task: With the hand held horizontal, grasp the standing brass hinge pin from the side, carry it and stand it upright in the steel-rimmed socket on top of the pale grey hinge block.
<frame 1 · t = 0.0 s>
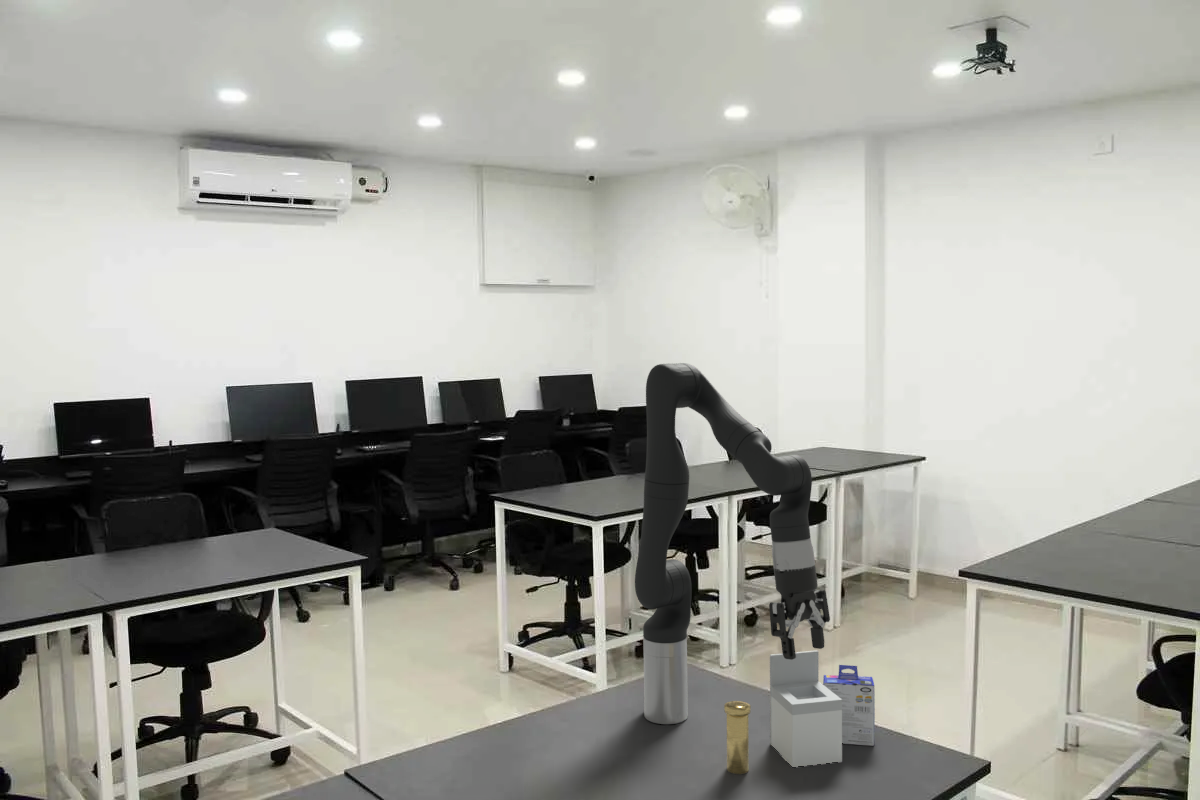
hand: (804, 653, 169), 22 cm above the table, tool pointing down, fingers open, 8 cm apart
hinge pin: (737, 769, 173), on the table
hinge block: (805, 753, 179), on the table
ink cartridge box: (848, 740, 185), on the table
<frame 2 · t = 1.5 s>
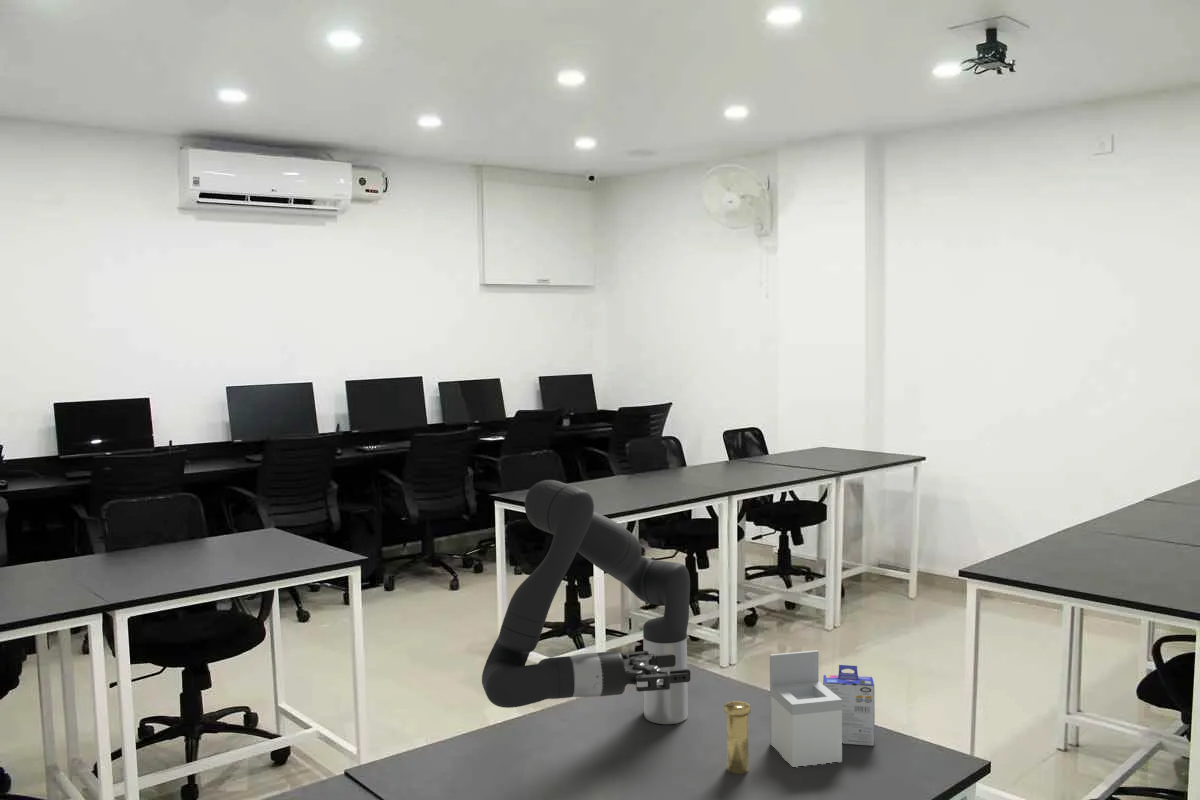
hand: (682, 667, 169), 20 cm above the table, tool horizontal, fingers open, 8 cm apart
nothing on the table moved.
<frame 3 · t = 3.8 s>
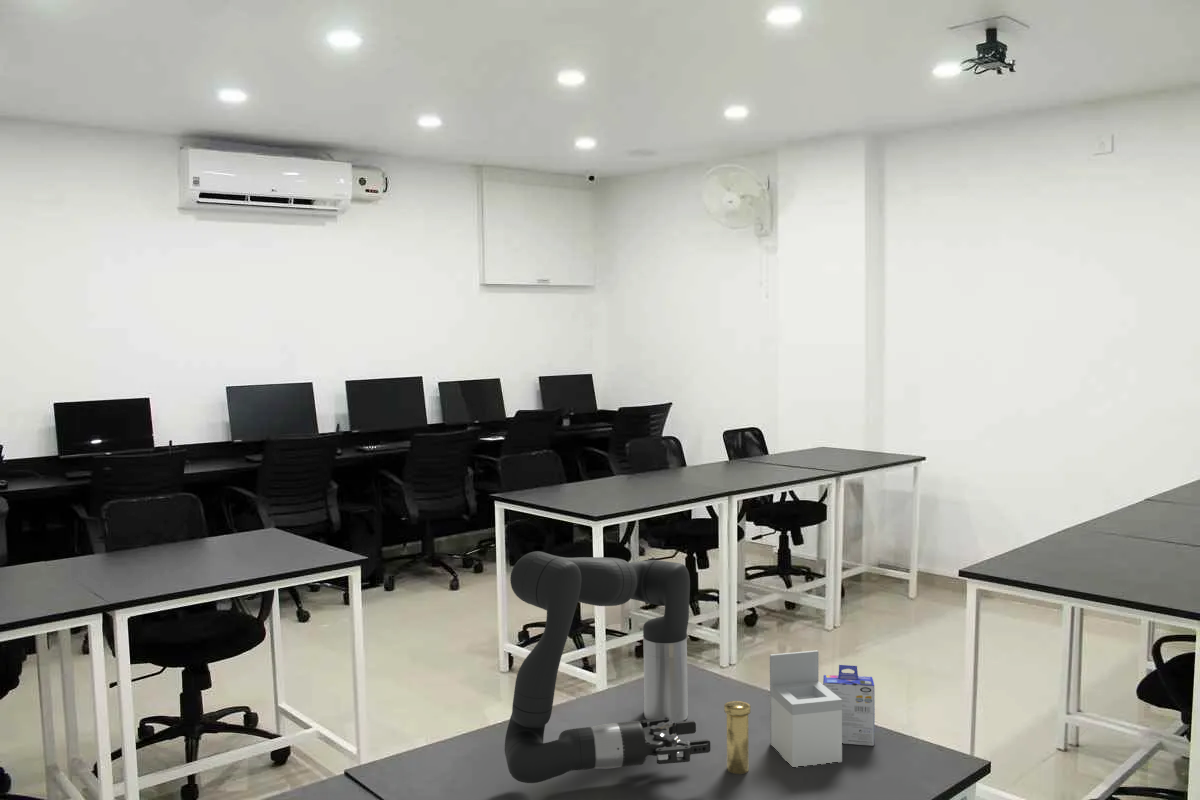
hand: (702, 735, 171), 7 cm above the table, tool horizontal, fingers open, 8 cm apart
nothing on the table moved.
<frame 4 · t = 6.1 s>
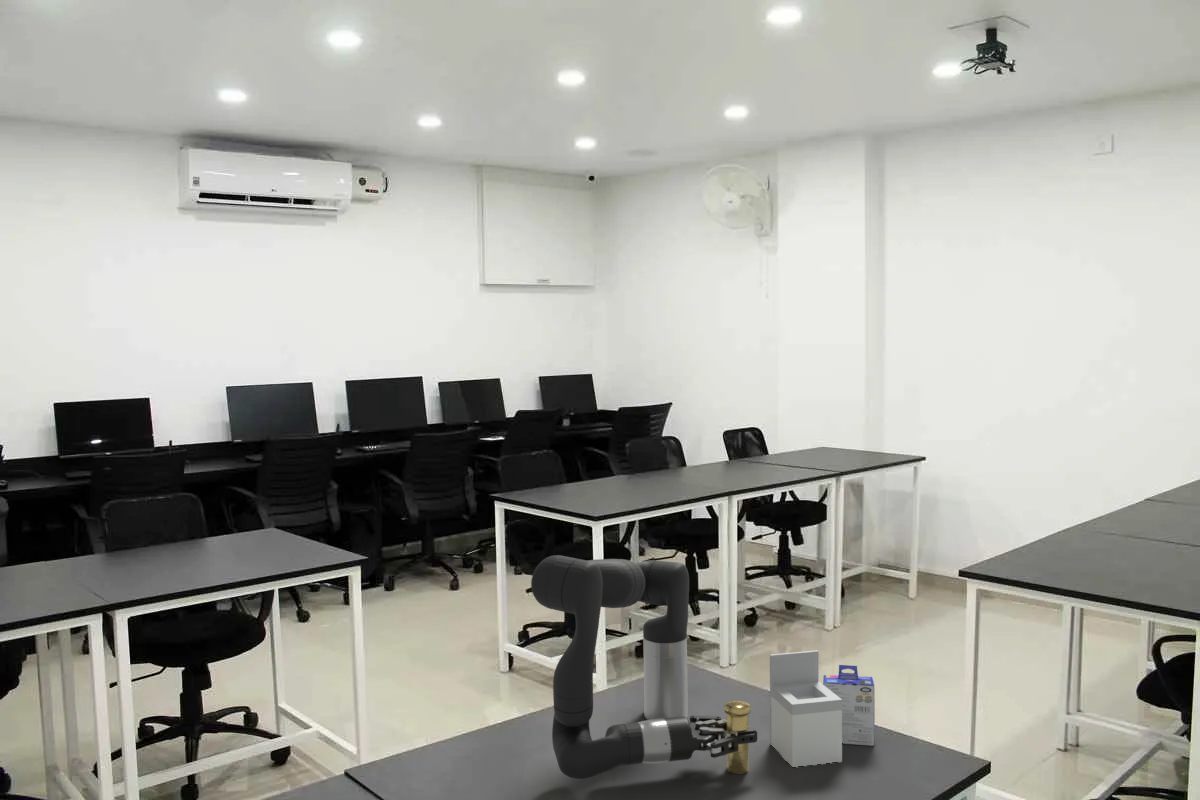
hand: (751, 730, 173), 7 cm above the table, tool horizontal, fingers closed on hinge pin, 4 cm apart
hinge pin: (737, 769, 173), on the table, touching gripper
everything else where it was.
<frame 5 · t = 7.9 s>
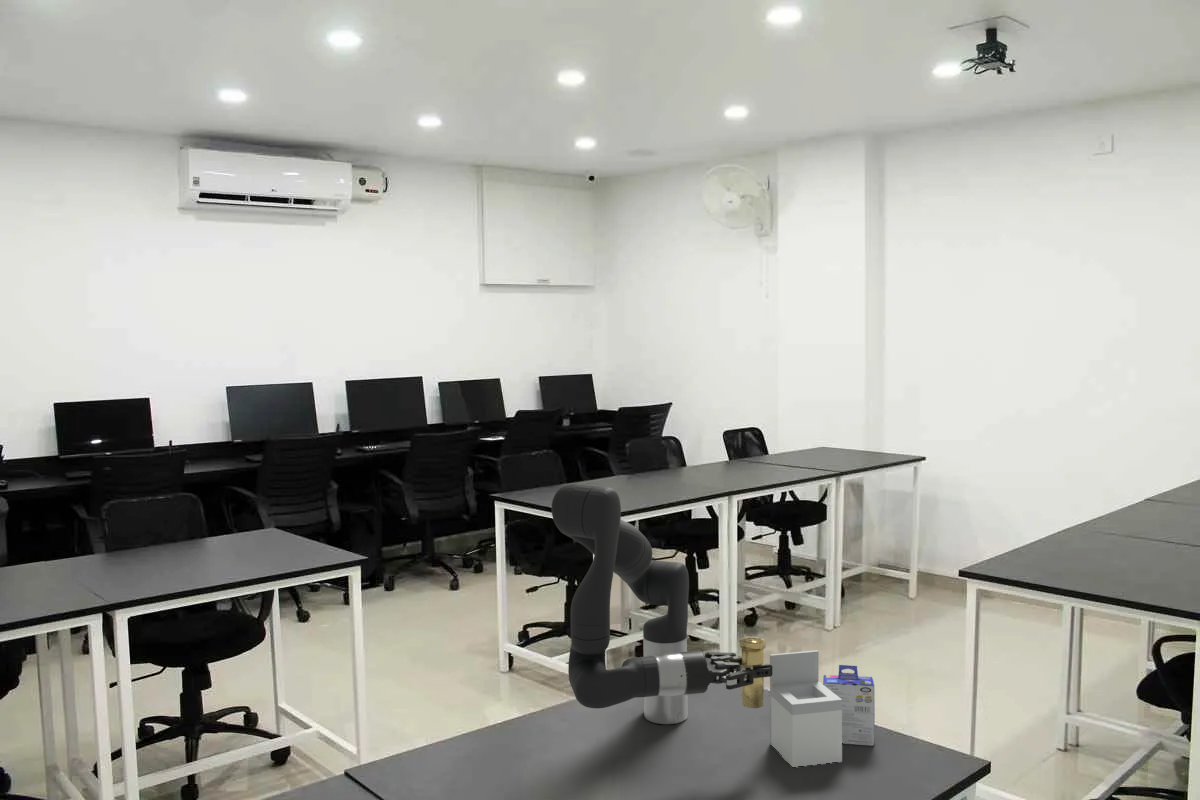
hand: (766, 665, 173), 19 cm above the table, tool horizontal, fingers closed on hinge pin, 4 cm apart
hinge pin: (752, 704, 173), point 12 cm above the table, touching gripper
everything else where it was.
when the fingers open (20 cm above the table, at t = 9.9 s): hinge pin drops 3 cm, resting on hinge block.
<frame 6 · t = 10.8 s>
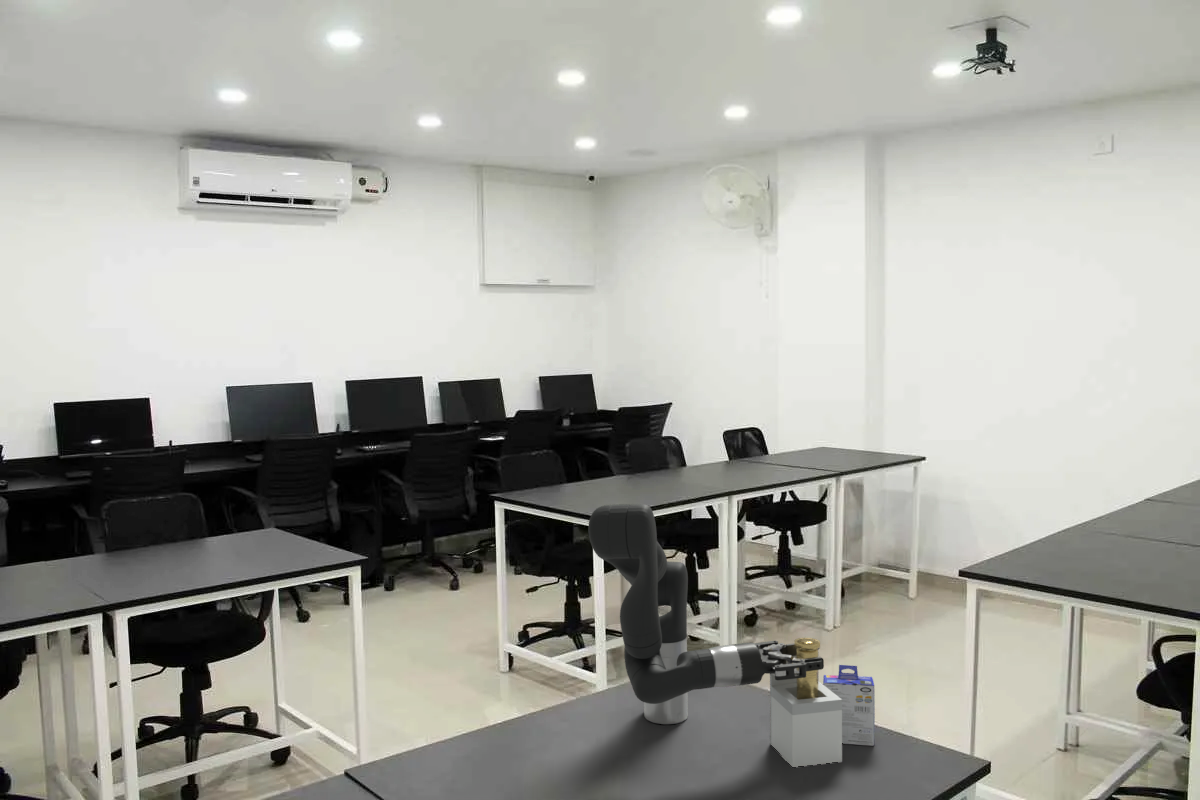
hand: (813, 655, 178), 19 cm above the table, tool horizontal, fingers open, 8 cm apart
hinge pin: (807, 703, 178), point 10 cm above the table, touching hinge block
everything else where it was.
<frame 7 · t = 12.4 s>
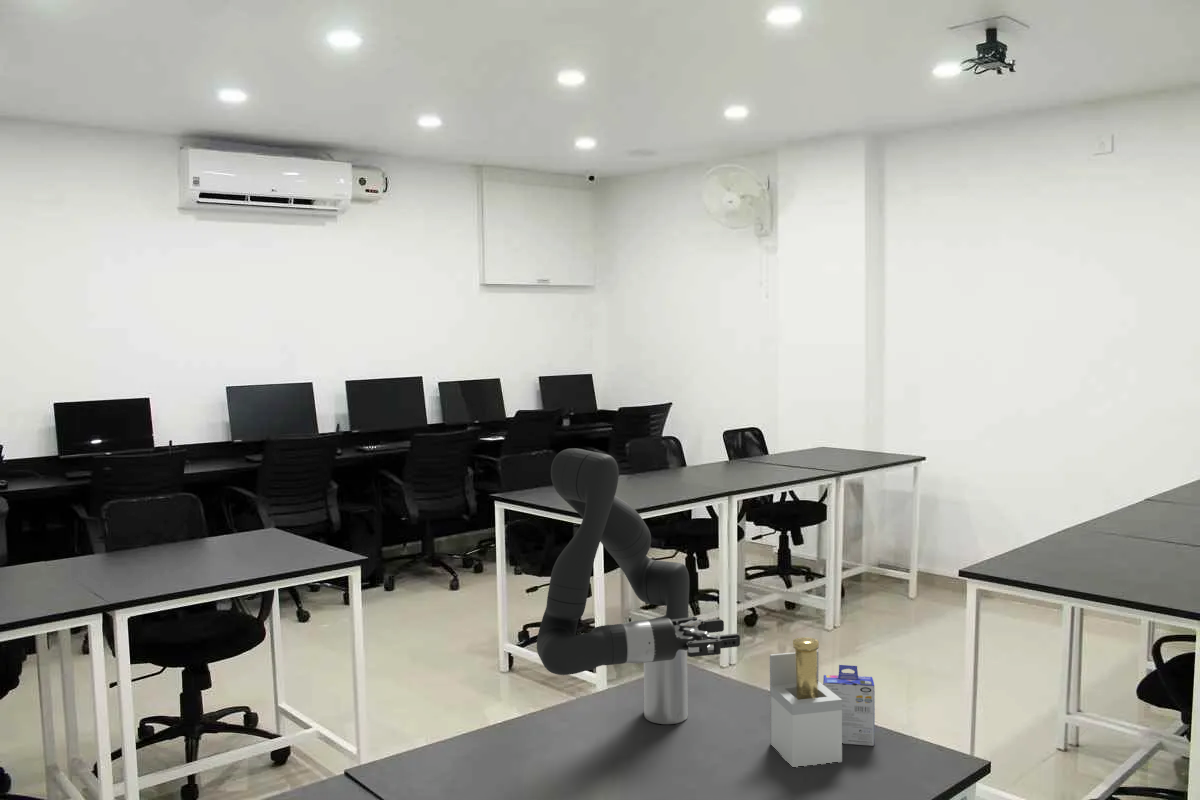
hand: (731, 632, 173), 25 cm above the table, tool horizontal, fingers open, 8 cm apart
nothing on the table moved.
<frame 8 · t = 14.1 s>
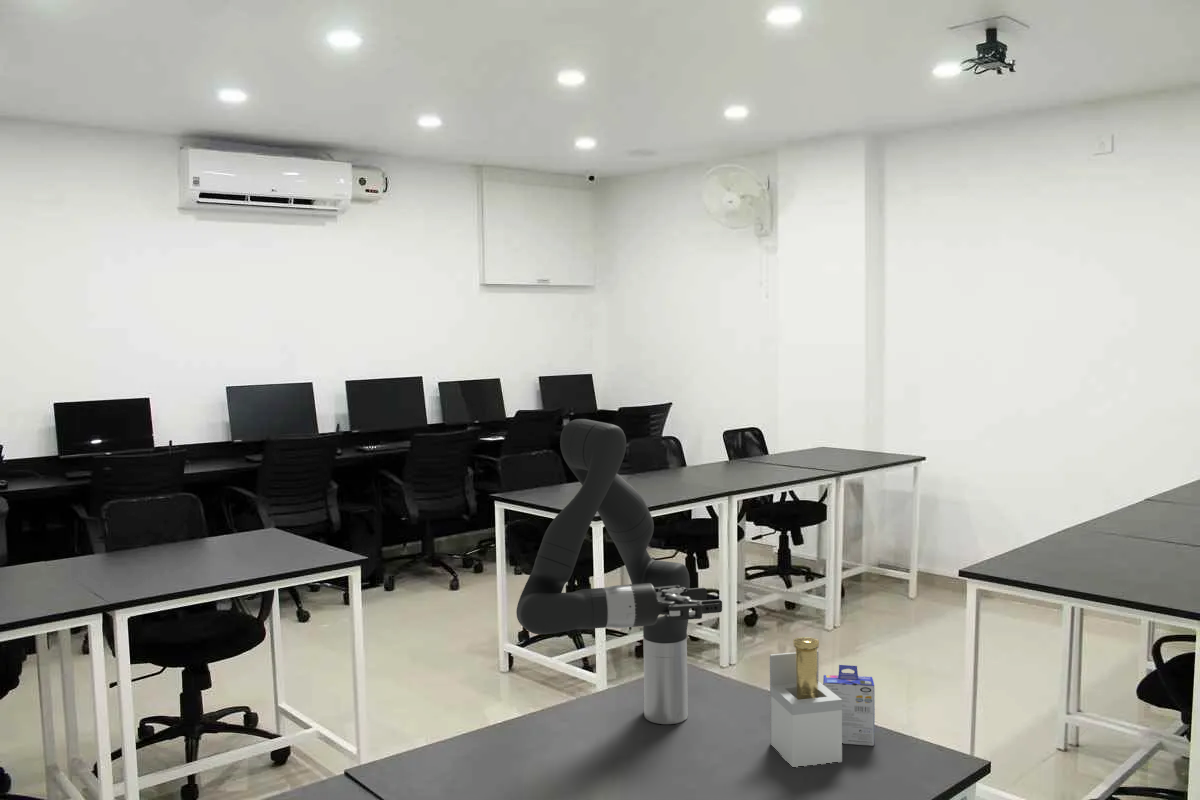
hand: (713, 599, 171), 32 cm above the table, tool horizontal, fingers open, 8 cm apart
nothing on the table moved.
at the end: hinge pin 0.4 cm off-centre on the hinge block, point 10.1 cm above the hinge block's base; hinge pin tilted 2°; the gripper is holding nothing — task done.
